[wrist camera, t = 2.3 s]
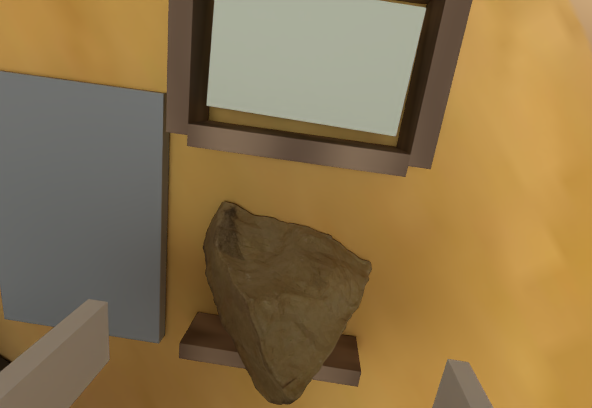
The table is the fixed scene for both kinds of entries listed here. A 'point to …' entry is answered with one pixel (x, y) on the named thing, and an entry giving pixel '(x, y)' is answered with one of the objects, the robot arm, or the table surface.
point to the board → (83, 202)
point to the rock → (280, 296)
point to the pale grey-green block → (315, 60)
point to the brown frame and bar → (306, 140)
